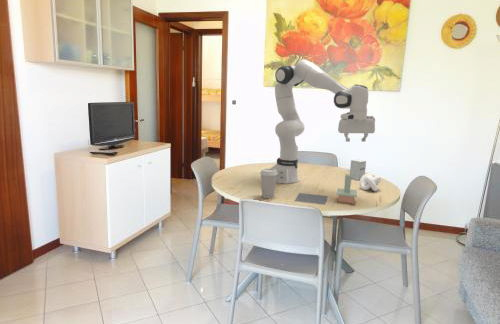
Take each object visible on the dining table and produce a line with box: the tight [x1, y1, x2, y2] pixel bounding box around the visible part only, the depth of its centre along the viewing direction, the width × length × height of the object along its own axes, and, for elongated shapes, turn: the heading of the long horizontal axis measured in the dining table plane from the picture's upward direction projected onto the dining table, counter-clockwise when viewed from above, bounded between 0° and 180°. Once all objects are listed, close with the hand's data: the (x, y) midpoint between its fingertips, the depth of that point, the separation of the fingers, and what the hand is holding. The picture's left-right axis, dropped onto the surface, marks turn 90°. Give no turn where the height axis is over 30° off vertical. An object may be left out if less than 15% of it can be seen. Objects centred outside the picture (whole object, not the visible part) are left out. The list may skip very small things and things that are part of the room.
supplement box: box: [349, 158, 367, 181], centre depth 239 cm, size 7×7×13 cm
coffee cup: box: [259, 167, 278, 199], centre depth 192 cm, size 10×10×15 cm
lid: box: [336, 173, 358, 198], centre depth 187 cm, size 10×10×10 cm
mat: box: [294, 192, 329, 205], centre depth 191 cm, size 16×16×1 cm
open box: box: [337, 195, 356, 206], centre depth 189 cm, size 8×8×4 cm
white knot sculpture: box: [359, 173, 382, 192], centre depth 213 cm, size 11×12×9 cm
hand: (355, 141), depth 192 cm, fingers open, 8 cm apart
